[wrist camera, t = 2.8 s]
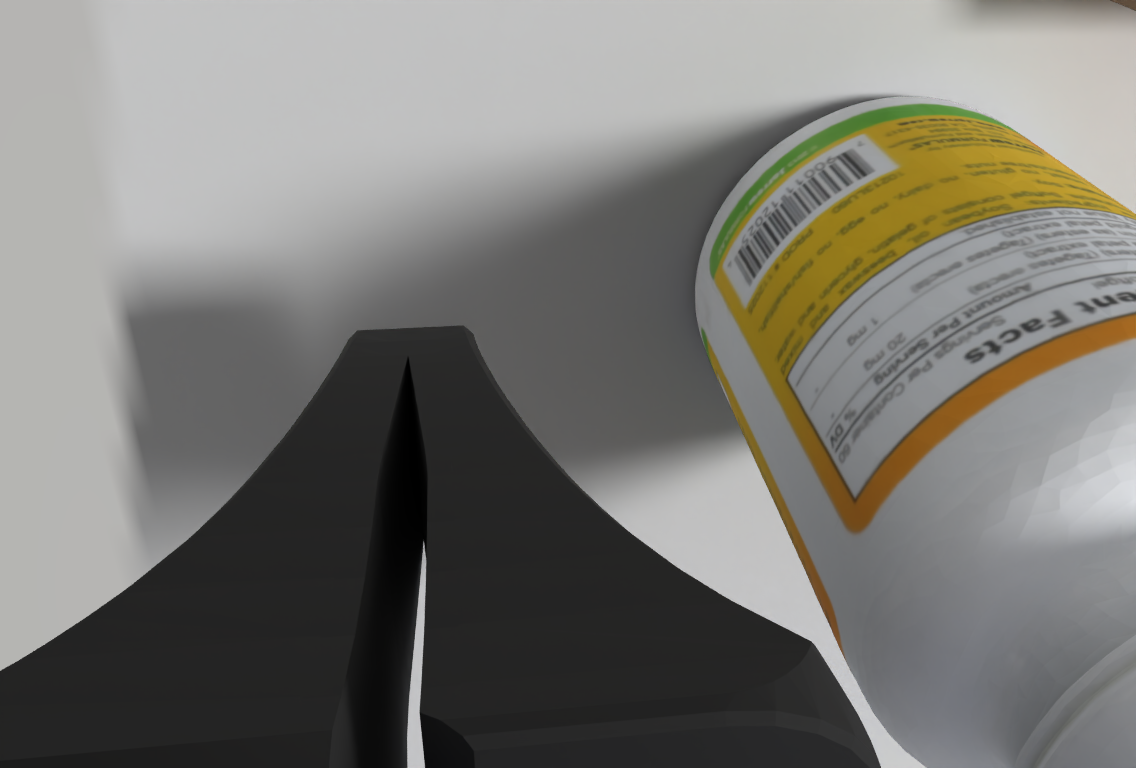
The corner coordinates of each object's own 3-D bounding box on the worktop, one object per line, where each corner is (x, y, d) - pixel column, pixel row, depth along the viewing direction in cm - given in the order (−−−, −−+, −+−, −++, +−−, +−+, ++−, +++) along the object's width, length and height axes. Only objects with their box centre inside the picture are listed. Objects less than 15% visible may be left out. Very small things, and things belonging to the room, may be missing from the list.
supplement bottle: (982, 403, 17) (1497, 1034, 9) (670, 416, 16) (922, 1113, 8) (1088, 85, 14) (2024, 604, 6) (711, 84, 13) (1176, 671, 5)
